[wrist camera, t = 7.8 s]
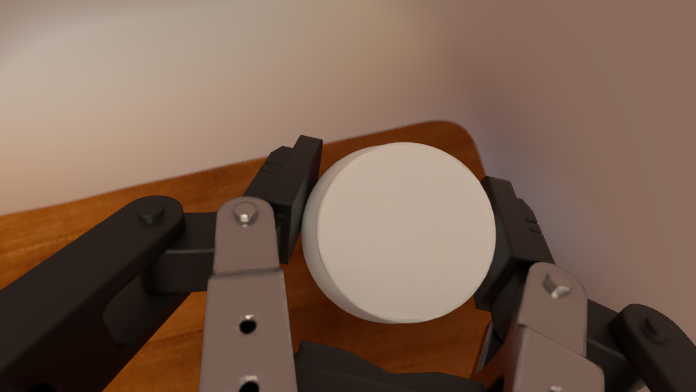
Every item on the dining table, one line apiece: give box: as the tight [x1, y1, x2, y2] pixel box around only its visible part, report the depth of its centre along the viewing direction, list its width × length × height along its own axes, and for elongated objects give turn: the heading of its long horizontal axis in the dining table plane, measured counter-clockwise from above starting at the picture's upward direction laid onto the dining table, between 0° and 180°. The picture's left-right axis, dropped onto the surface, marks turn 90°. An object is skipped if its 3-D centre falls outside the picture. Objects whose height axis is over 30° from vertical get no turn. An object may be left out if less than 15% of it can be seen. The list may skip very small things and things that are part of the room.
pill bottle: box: [301, 142, 496, 324], centre depth 12 cm, size 5×5×10 cm
